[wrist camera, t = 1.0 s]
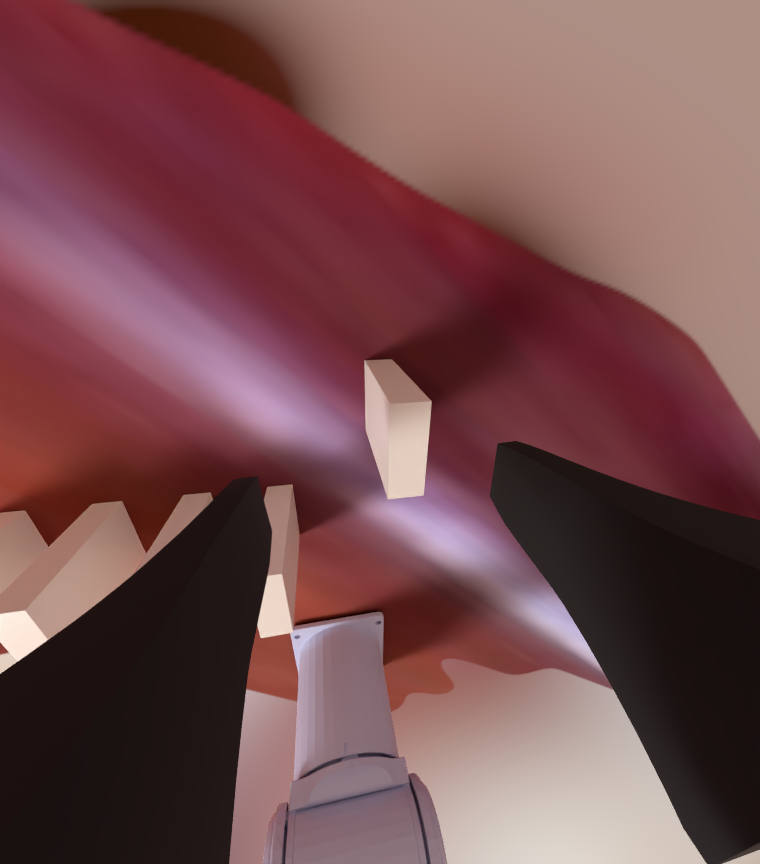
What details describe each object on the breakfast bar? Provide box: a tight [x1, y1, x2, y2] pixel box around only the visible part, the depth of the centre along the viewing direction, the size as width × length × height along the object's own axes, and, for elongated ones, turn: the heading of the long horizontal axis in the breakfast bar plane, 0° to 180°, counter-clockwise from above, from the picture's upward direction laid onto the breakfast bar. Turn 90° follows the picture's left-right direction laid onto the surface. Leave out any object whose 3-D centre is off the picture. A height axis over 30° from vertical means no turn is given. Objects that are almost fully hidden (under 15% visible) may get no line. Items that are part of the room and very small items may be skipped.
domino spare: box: [365, 359, 432, 499], centre depth 16 cm, size 4×2×7 cm, turn 179°
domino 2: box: [257, 484, 300, 638], centre depth 18 cm, size 4×2×7 cm, turn 179°
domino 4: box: [0, 501, 146, 662], centre depth 16 cm, size 4×2×7 cm, turn 179°
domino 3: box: [135, 492, 213, 572], centre depth 17 cm, size 4×2×7 cm, turn 179°
